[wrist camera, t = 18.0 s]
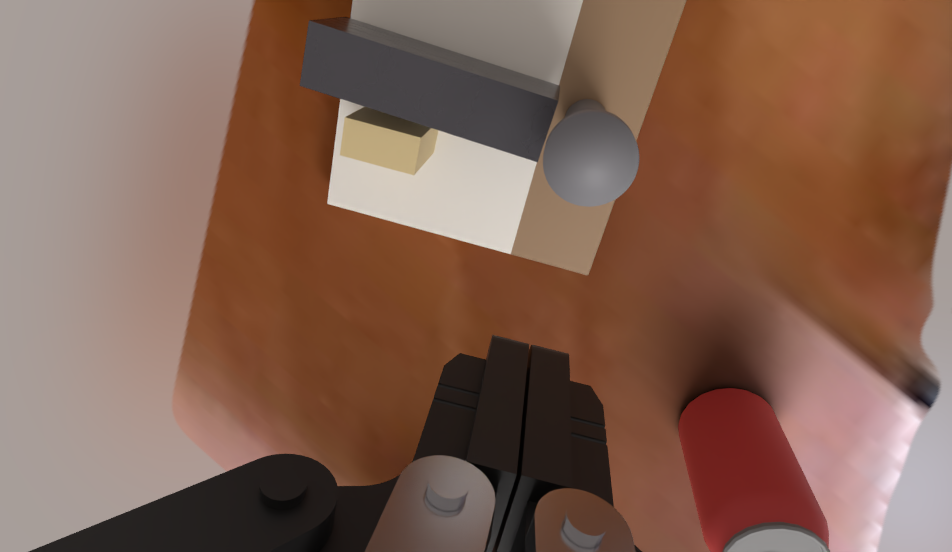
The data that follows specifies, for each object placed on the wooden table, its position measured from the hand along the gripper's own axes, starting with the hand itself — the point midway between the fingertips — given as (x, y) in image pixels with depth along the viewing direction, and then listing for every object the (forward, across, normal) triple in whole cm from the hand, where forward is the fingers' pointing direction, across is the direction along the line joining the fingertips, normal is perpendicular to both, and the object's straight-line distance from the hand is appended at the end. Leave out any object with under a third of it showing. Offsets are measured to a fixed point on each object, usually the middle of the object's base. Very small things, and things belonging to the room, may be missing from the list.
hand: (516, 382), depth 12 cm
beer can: (+27, -18, +17) cm, 36 cm away
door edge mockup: (+27, +3, -2) cm, 27 cm away
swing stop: (+24, +6, -2) cm, 25 cm away
